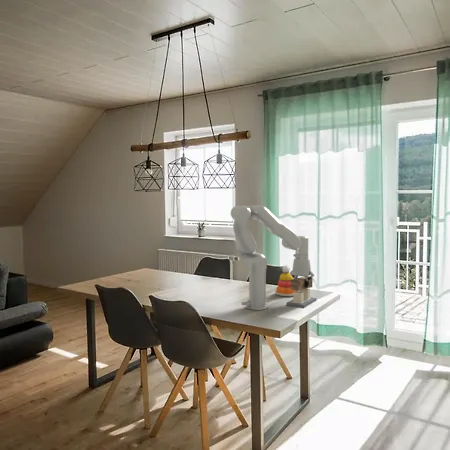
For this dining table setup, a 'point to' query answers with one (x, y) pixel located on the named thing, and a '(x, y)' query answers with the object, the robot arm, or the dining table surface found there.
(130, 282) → the dining table surface
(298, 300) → the plate
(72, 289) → the dining table surface
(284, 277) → the stacking toy
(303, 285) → the walnut beam
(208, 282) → the dining table surface
